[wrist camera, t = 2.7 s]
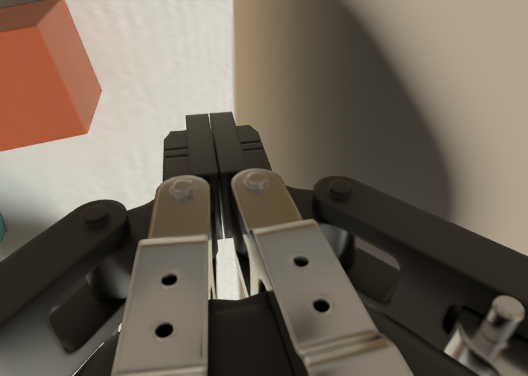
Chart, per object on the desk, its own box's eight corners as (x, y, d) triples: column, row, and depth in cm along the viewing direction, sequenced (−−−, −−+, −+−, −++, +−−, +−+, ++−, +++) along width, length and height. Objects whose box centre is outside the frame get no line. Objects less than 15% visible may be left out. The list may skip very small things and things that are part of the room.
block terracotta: (-41, 15, 17) (-96, 48, 14) (63, -4, 18) (36, 24, 14) (13, 108, 20) (-21, 156, 16) (102, 91, 20) (88, 134, 17)
